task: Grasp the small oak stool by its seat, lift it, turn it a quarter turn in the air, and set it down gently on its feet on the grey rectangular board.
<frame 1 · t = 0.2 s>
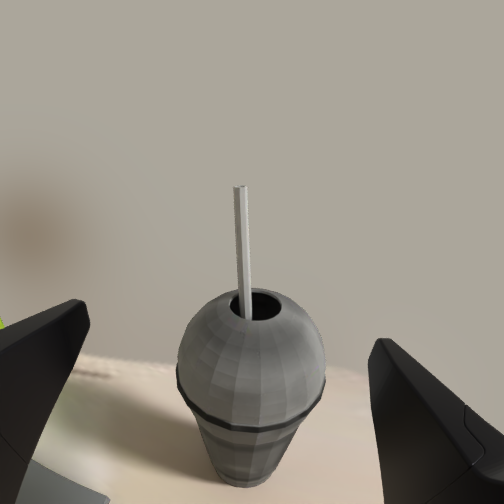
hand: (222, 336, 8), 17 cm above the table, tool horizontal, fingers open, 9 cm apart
beverage cup: (244, 464, 19), on the table
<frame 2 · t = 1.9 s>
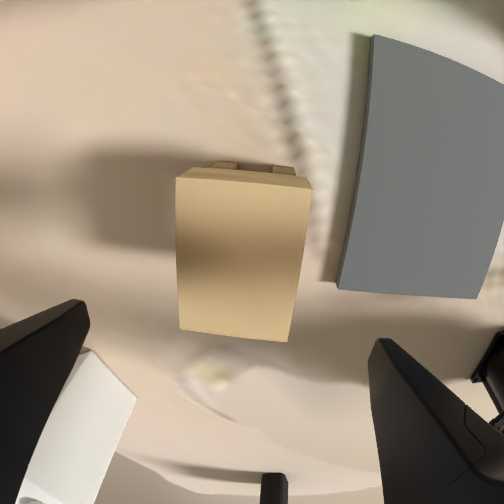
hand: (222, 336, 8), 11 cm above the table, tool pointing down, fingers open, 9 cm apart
grey rectangular board: (442, 181, 16), on the table
milk carton: (96, 378, 27), on the table
walkie-talkie: (274, 477, 33), on the table
oak stool: (251, 216, 19), on the table
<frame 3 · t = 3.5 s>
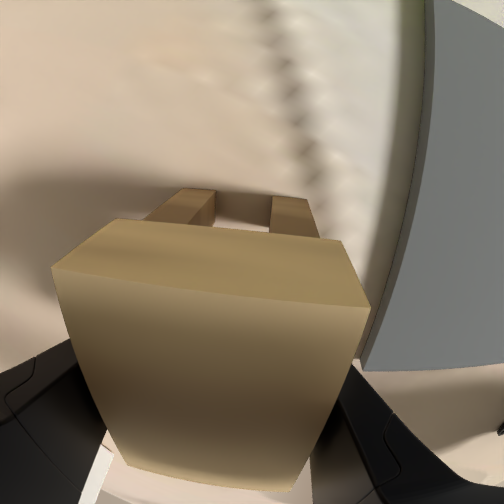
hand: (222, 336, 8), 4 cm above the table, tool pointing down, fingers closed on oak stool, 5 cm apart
milk carton: (68, 429, 21), on the table
oak stool: (238, 273, 12), on the table, touching gripper
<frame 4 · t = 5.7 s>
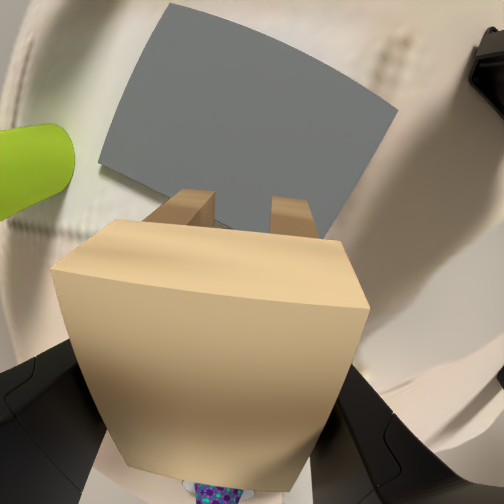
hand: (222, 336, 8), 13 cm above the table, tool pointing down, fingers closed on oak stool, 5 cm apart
grey rectangular board: (240, 126, 18), on the table
milk carton: (313, 447, 31), on the table
soap dispenser: (49, 165, 20), on the table
pudding: (218, 486, 39), on the table
oak stool: (238, 274, 12), point 9 cm above the table, touching gripper
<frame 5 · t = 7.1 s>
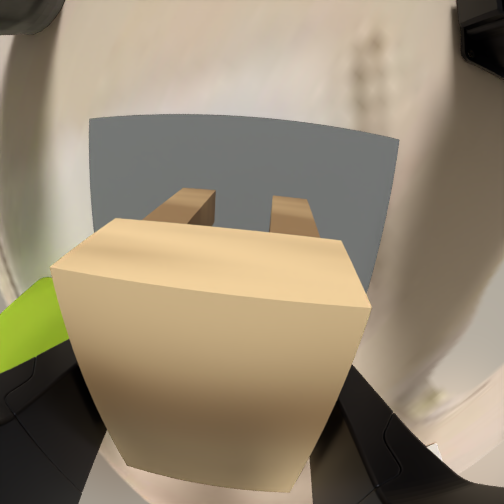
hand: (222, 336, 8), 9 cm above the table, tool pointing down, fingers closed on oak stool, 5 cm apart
grey rectangular board: (229, 229, 16), on the table
soap dispenser: (64, 314, 21), on the table
beverage cup: (43, 6, 11), on the table
oak stool: (238, 273, 12), point 5 cm above the table, touching gripper
when the fingers open (6 cm above the table, at t = 8.1 s): oak stool drops 1 cm, resting on grey rectangular board.
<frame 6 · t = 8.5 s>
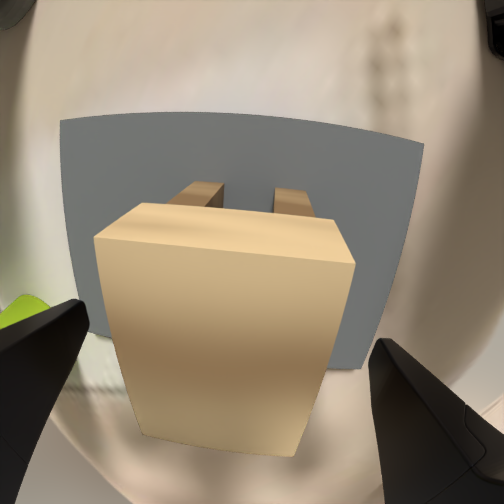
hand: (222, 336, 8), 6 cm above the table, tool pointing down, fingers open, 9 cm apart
grey rectangular board: (221, 249, 14), on the table
soap dispenser: (47, 333, 18), on the table
oak stool: (244, 258, 13), point 1 cm above the table, touching grey rectangular board
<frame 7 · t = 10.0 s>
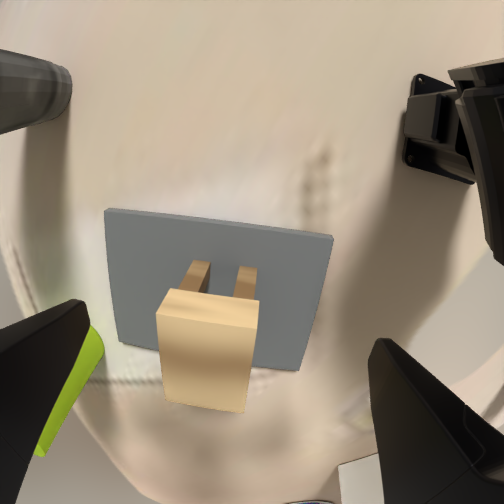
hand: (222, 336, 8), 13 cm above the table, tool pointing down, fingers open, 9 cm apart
grey rectangular board: (209, 295, 23), on the table
milk carton: (366, 464, 34), on the table
soap dispenser: (83, 341, 27), on the table
beverage cup: (52, 92, 17), on the table
oak stool: (222, 303, 22), point 1 cm above the table, touching grey rectangular board
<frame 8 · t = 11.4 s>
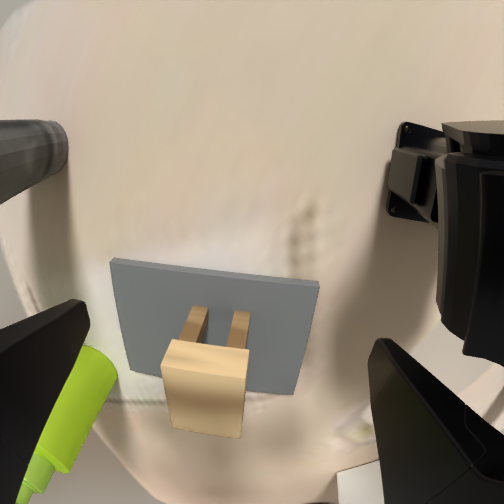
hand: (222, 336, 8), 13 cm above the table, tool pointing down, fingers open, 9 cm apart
grey rectangular board: (209, 332, 25), on the table
milk carton: (364, 471, 35), on the table
soap dispenser: (97, 367, 29), on the table
beverage cup: (50, 147, 20), on the table
oak stool: (220, 340, 24), point 1 cm above the table, touching grey rectangular board
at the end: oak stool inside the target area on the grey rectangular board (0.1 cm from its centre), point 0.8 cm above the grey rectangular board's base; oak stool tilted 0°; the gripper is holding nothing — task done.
